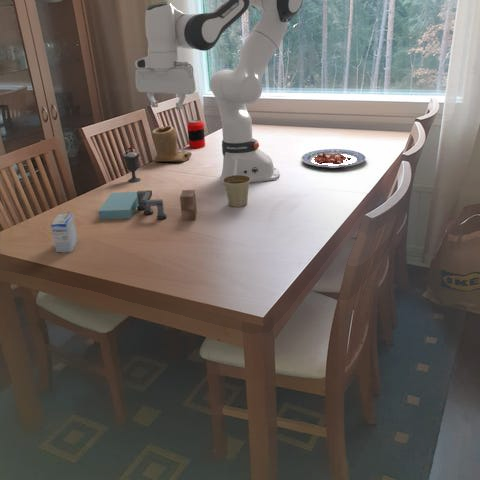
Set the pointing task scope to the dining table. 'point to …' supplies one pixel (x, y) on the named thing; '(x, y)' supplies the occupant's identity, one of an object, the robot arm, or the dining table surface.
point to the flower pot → (237, 189)
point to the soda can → (196, 134)
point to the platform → (119, 206)
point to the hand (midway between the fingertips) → (167, 107)
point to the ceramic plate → (332, 157)
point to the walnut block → (188, 205)
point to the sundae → (131, 162)
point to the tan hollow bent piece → (168, 145)
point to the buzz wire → (150, 204)
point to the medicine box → (64, 232)
